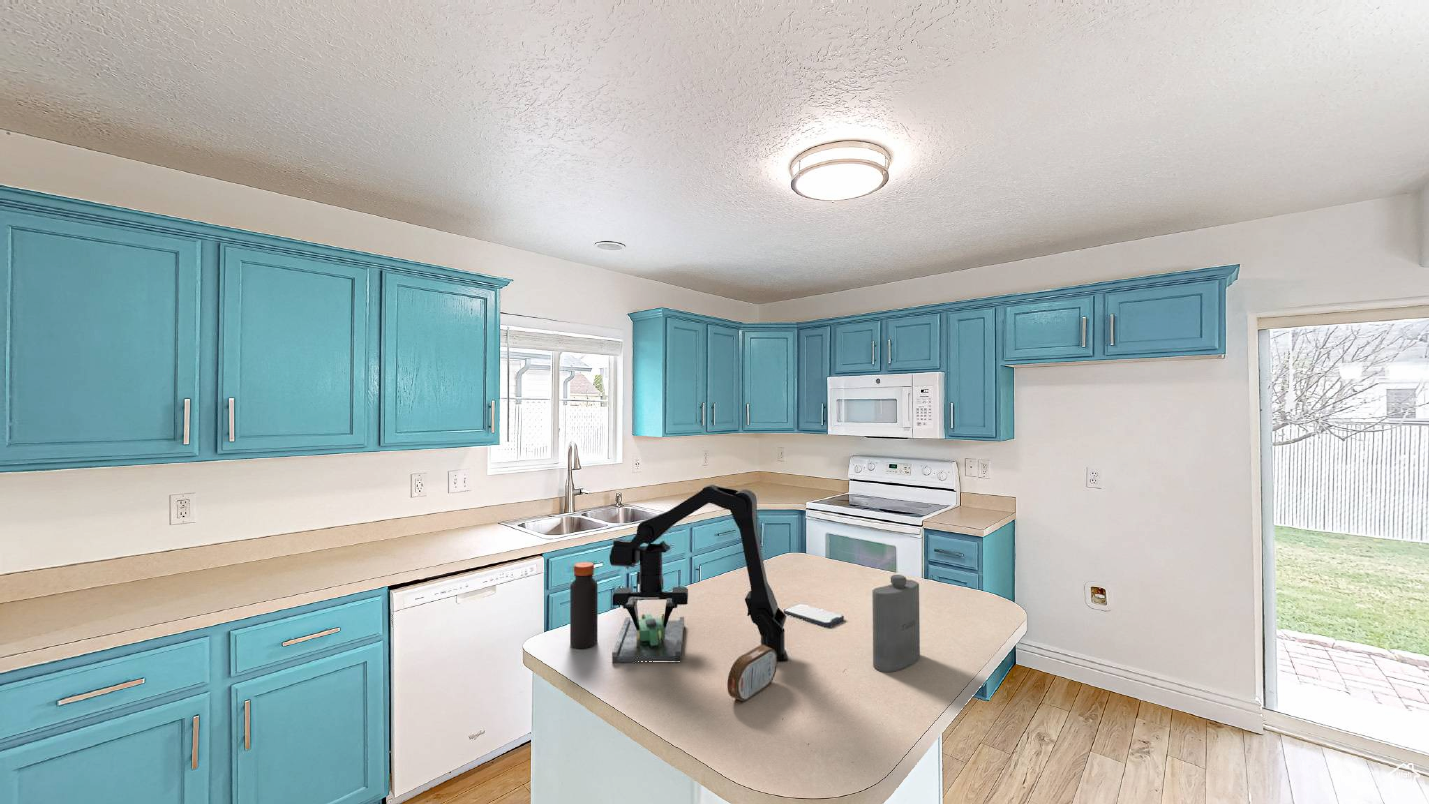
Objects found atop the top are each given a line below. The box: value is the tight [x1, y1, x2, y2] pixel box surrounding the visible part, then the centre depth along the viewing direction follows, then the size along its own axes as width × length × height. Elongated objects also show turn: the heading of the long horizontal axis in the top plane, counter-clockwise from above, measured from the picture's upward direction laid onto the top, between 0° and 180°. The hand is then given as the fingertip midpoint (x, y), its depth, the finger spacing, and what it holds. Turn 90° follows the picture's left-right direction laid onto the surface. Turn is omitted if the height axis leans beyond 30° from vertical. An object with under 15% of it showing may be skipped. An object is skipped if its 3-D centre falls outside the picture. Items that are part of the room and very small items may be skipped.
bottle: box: [569, 561, 599, 650], centre depth 140 cm, size 7×7×20 cm
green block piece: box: [639, 613, 665, 646], centre depth 140 cm, size 14×6×3 cm, turn 14°
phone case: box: [783, 603, 845, 628], centre depth 158 cm, size 9×2×16 cm
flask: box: [871, 574, 921, 673], centre depth 129 cm, size 15×6×20 cm, turn 129°
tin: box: [726, 644, 778, 702], centre depth 116 cm, size 15×3×8 cm, turn 141°
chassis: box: [611, 613, 685, 664], centre depth 140 cm, size 22×16×5 cm
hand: (651, 630), depth 140 cm, fingers closed on green block piece, 6 cm apart
